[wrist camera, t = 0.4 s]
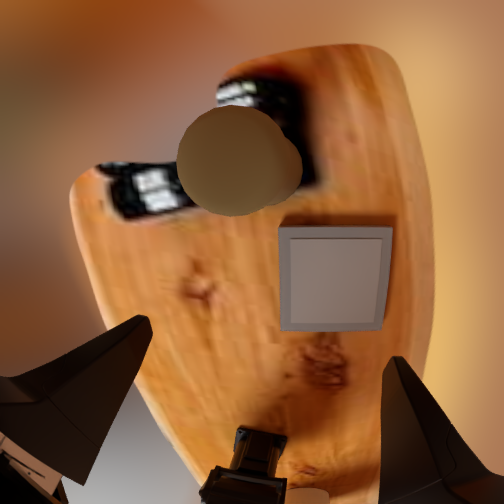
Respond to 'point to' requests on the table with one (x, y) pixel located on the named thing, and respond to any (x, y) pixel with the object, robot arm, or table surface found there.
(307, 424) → the table surface
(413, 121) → the table surface
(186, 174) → the cork
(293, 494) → the reusable coffee cup
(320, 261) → the coaster
